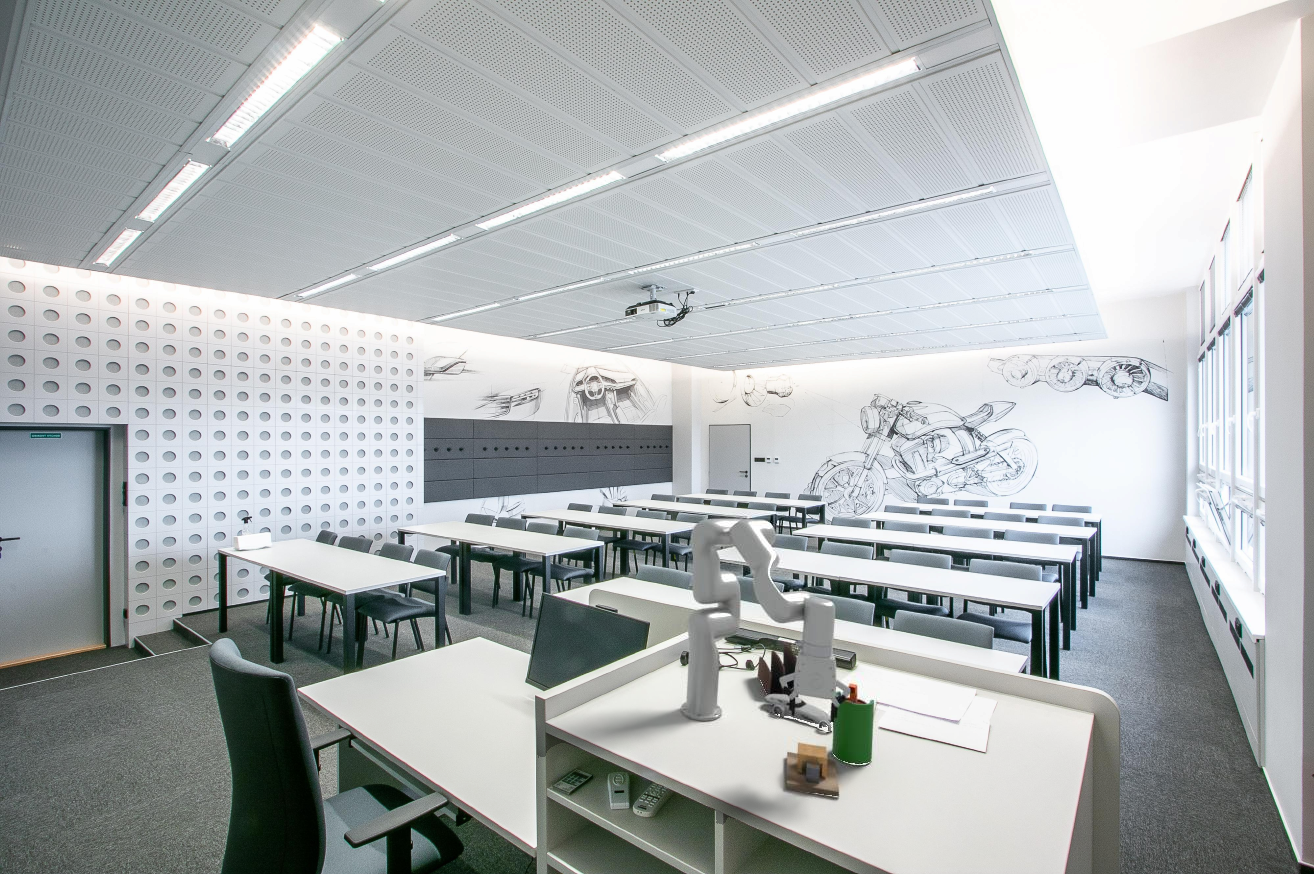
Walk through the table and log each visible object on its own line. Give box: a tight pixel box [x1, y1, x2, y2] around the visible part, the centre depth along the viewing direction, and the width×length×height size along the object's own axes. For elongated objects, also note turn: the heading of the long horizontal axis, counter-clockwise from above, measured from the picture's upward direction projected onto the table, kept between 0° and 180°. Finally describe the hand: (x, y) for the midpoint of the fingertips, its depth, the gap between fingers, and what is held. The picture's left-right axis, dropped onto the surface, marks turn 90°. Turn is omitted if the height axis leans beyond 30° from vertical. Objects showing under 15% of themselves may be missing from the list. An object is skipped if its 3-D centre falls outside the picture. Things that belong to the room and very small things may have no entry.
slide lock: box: [796, 742, 828, 777], centre depth 150 cm, size 6×7×4 cm
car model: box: [764, 694, 832, 731], centre depth 185 cm, size 11×24×5 cm, turn 50°
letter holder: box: [757, 642, 799, 698], centre depth 208 cm, size 10×20×14 cm, turn 1°
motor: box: [831, 683, 875, 764], centre depth 161 cm, size 10×9×20 cm
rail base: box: [786, 751, 840, 797], centre depth 149 cm, size 16×12×2 cm
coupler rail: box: [805, 761, 820, 784], centre depth 150 cm, size 12×3×4 cm, turn 167°
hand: (812, 716), depth 150 cm, fingers open, 9 cm apart
